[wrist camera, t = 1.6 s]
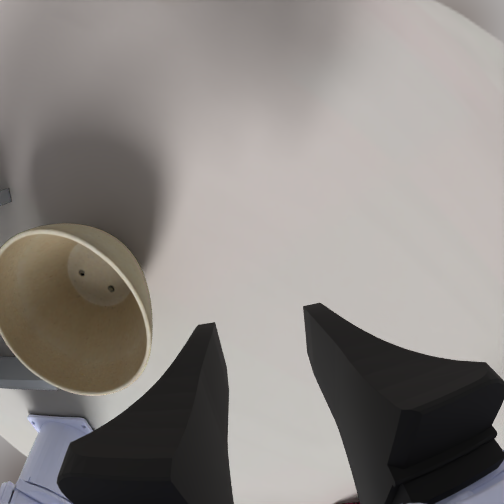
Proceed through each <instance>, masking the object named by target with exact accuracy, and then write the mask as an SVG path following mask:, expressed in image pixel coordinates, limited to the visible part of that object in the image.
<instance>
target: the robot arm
mask: <svg viewBox="0 0 504 504" xmlns="http://www.w3.org/2000/svg"><path fill="white" fill-rule="evenodd" d="M303 310H304V321H305V332H306V343H307V353H308V356H309V360H310V363H311V366H312V370H313V373H314V375H315V378H316V380H317V382H318V384H319V387H320V389H321V391H322V393H323V395H324V397H325V400H326V402H327V404H328V406H329V408H330V410H331V413H332V415H333V417H334V419H335V421H336V424H337V426H338V429H339V432H340V435H341V438H342V441H343V444H344V448H345V451H346V454H347V457H348V461H349V464H350V468H351V471H352V475H353V478H354V482H355V486H356V490H357V493H358V497H359V501H360V504H504V450H502V449H501V447H500V446H499V445H498V443H497V442H496V441H495V439H494V438H496V436H497V431H496V430H495V429H494V427H493V426H492V423H493V421H494V419H495V417H496V415H497V413H498V411H499V409H500V407H501V405H502V403H503V400H504V381H503V380H502V379H501V378H500V376H499V375H498V374H497V373H496V372H495V371H494V370H493V369H492V368H491V367H490V366H489V365H488V364H487V363H486V362H471V361H457V360H450V359H444V358H438V357H433V356H429V355H425V354H421V353H417V352H414V351H410V350H407V349H404V348H401V347H399V346H396V345H393V344H391V343H388V342H386V341H384V340H381V339H379V338H377V337H375V336H373V335H371V334H369V333H367V332H365V331H363V330H362V329H360V328H358V327H356V326H355V325H353V324H351V323H350V322H348V321H347V320H345V319H343V318H342V317H340V316H339V315H337V314H336V313H334V312H333V311H331V310H330V309H329V308H327V307H326V306H324V305H323V304H321V303H317V304H312V305H307V306H303ZM228 406H229V386H228V376H227V367H226V363H225V359H224V355H223V352H222V348H221V344H220V340H219V336H218V332H217V328H216V324H215V322H214V323H208V324H201V325H198V326H197V327H196V328H195V330H194V331H193V333H192V335H191V336H190V338H189V339H188V341H187V343H186V344H185V346H184V347H183V349H182V350H181V352H180V353H179V354H178V356H177V357H176V359H175V360H174V362H173V363H172V364H171V365H170V367H169V368H168V369H167V371H166V372H165V373H164V374H163V376H162V377H161V378H160V379H159V380H158V381H157V382H156V383H155V384H154V385H153V386H152V387H151V388H150V389H149V390H148V391H147V392H146V393H145V394H144V395H143V396H142V397H141V398H140V399H138V400H137V401H136V402H135V403H134V404H132V405H131V406H130V407H129V408H128V409H126V410H125V411H124V412H122V413H121V414H120V415H118V416H117V417H115V418H114V419H112V420H111V421H109V422H108V423H106V424H105V425H103V426H101V427H100V428H98V429H96V430H94V431H93V430H92V428H91V427H90V425H89V424H88V423H87V421H86V420H85V419H84V418H80V417H56V416H41V415H28V417H27V418H28V420H29V421H30V423H31V424H32V425H33V427H34V428H35V429H36V431H37V432H38V435H37V438H36V440H35V442H34V444H33V446H32V448H31V451H30V453H29V455H28V458H27V460H26V462H25V464H24V467H23V469H22V472H21V474H20V477H19V479H18V481H17V482H16V484H15V485H14V484H13V483H12V482H10V481H8V482H3V483H2V485H1V487H0V504H234V502H233V495H232V487H231V478H230V469H229V459H228V442H227V439H228Z"/></svg>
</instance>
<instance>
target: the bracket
mask: <svg viewBox="0 0 504 504" xmlns="http://www.w3.org/2000/svg"><path fill="white" fill-rule="evenodd" d="M8 202H11V197H10V193H9V188H7V189H4V190H1V191H0V206H1V205H3V204H6V203H8ZM0 388H8V389H28V390H58V388H57V387H55V386H53V385H51V384H49V383H47V382H46V381H44V380H42V379H41V378H39V377H38V376H36V375H35V374H34V373H32V372H31V371H30V370H29V369H28V368H27V367H25V366H24V365H23V364H22V363H21V362H20V360H19V359H18V358H17V357H0Z"/></svg>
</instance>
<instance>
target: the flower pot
mask: <svg viewBox="0 0 504 504" xmlns="http://www.w3.org/2000/svg"><path fill="white" fill-rule="evenodd" d="M81 273H84V275H83V276H82V275H81ZM112 286H113V288H114V289H113V288H112ZM152 326H153V325H152V308H151V300H150V295H149V290H148V286H147V283H146V280H145V277H144V274H143V272H142V270H141V267H140V265H139V264H138V262H137V260H136V258H135V257H134V256H133V254H132V253H131V252H130V250H129V249H128V248H127V247H126V246H125V245H124V244H123V243H122V242H121V241H119V240H118V239H117V238H115V237H114V236H112V235H110V234H109V233H107V232H105V231H102V230H100V229H97V228H94V227H90V226H86V225H80V224H67V223H62V224H51V225H45V226H39V227H36V228H32V229H29V230H26V231H24V232H21V233H19V234H17V235H15V236H13V237H12V238H10V239H9V240H8V241H7V242H6V243H5V244H4V245H3V246H2V247H1V248H0V334H1V336H2V338H3V340H4V341H5V343H6V344H7V346H8V347H9V349H10V350H11V351H12V352H13V354H14V355H15V356H16V357H17V358H18V359H19V360H20V362H21V363H22V364H23V365H24V366H25V367H27V368H28V369H29V370H30V371H31V372H32V373H34V374H35V375H36V376H38V377H39V378H41V379H42V380H44V381H46V382H47V383H49V384H51V385H53V386H55V387H57V388H60V389H62V390H65V391H68V392H71V393H75V394H80V395H88V396H100V395H107V394H112V393H115V392H118V391H121V390H123V389H125V388H127V387H128V386H130V385H131V384H132V383H133V382H134V381H136V380H137V379H138V377H139V376H140V375H141V373H142V372H143V371H144V369H145V367H146V365H147V362H148V359H149V356H150V351H151V343H152Z"/></svg>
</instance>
